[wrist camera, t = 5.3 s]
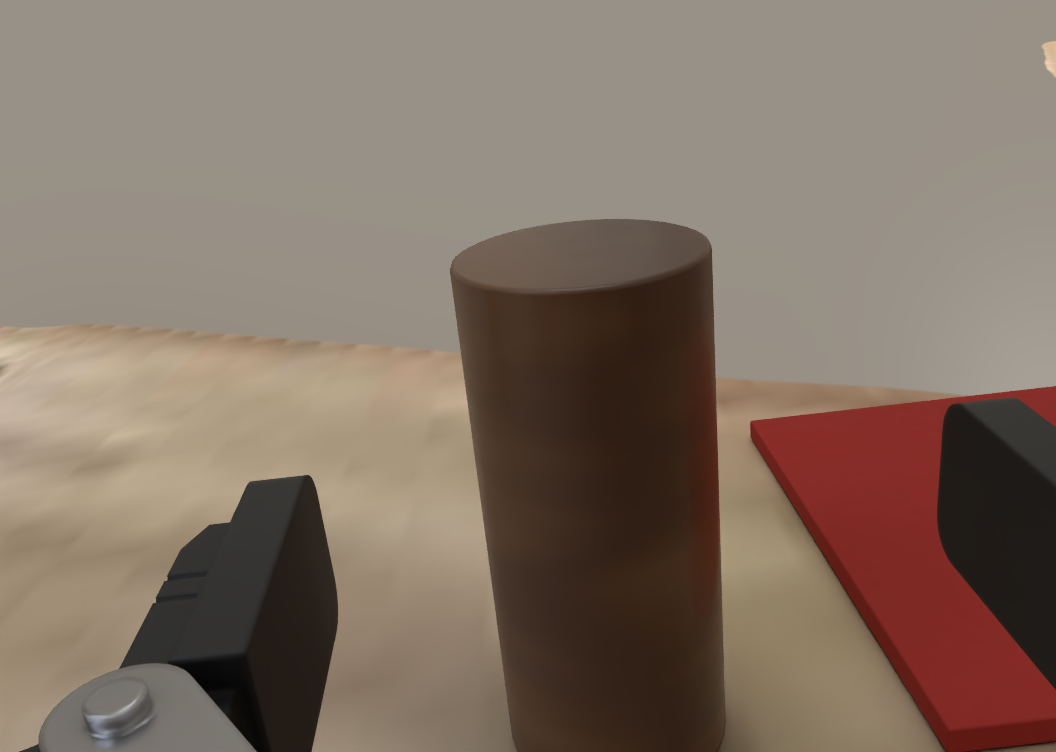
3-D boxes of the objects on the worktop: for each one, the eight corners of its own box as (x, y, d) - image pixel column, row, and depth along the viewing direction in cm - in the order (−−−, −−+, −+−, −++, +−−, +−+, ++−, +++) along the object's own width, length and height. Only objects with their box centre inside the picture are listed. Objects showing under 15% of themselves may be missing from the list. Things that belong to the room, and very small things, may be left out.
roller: (516, 815, 18) (445, 304, 14) (508, 662, 22) (451, 233, 18) (750, 786, 18) (742, 270, 14) (699, 640, 22) (682, 207, 19)
